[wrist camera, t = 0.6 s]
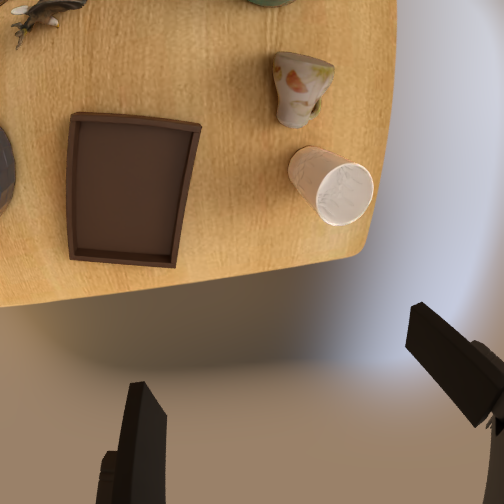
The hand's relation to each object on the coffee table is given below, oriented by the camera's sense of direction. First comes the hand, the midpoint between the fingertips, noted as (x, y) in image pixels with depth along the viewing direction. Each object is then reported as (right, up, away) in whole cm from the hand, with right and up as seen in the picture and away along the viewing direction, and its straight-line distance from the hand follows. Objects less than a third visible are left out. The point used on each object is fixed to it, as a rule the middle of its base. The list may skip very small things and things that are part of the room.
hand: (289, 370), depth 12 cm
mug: (+3, +26, +20) cm, 33 cm away
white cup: (+6, +17, +27) cm, 32 cm away
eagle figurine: (-25, +34, +5) cm, 42 cm away
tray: (-18, +13, +21) cm, 31 cm away
